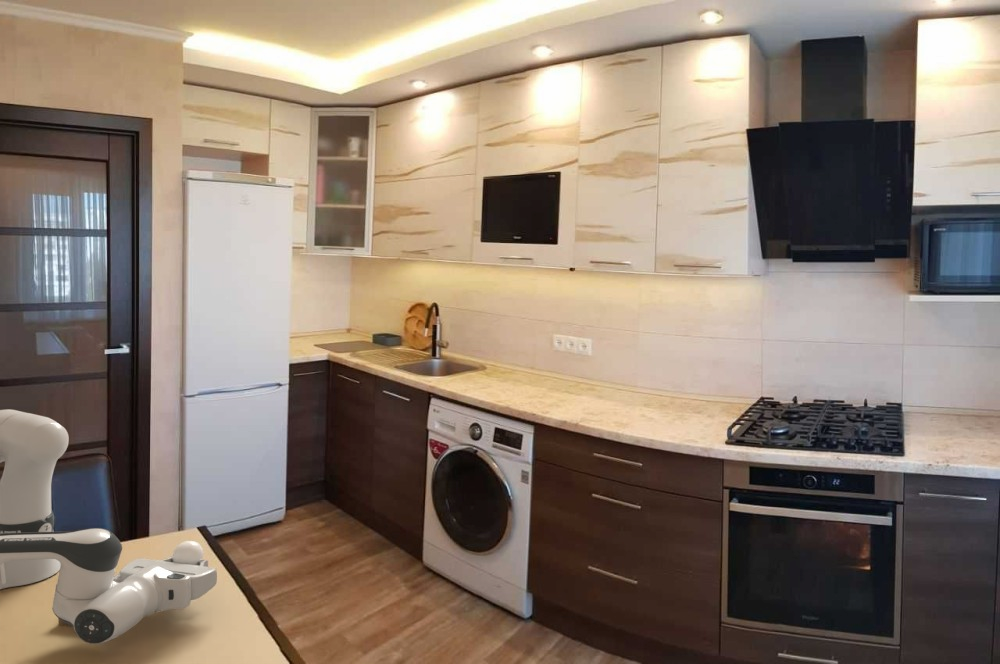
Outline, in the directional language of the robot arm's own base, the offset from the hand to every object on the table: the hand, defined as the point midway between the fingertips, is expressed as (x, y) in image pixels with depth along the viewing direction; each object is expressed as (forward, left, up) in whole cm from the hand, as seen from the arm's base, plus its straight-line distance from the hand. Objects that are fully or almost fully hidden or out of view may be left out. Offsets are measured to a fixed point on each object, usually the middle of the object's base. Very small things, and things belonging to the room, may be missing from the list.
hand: (190, 561), depth 157 cm
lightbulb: (0, -1, -6) cm, 6 cm away
